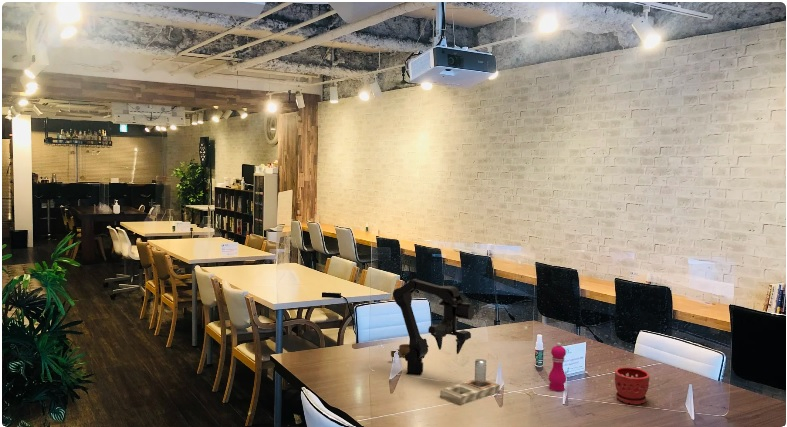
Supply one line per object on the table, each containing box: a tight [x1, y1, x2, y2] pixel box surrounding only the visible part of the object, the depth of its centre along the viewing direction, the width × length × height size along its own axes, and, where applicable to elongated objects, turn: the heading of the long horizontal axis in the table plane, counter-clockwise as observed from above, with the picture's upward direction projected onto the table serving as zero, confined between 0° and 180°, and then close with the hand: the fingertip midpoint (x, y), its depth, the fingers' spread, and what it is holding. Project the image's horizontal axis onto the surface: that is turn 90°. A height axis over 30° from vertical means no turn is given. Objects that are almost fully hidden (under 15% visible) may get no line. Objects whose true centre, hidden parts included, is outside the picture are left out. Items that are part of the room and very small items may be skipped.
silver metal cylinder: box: [474, 358, 487, 387], centre depth 262 cm, size 5×5×13 cm
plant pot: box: [614, 366, 650, 405], centre depth 256 cm, size 13×13×12 cm
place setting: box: [390, 343, 410, 362], centre depth 308 cm, size 18×20×6 cm
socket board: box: [439, 378, 501, 406], centre depth 258 cm, size 24×11×3 cm, turn 131°
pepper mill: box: [548, 342, 567, 392], centre depth 267 cm, size 7×7×20 cm
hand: (448, 351), depth 273 cm, fingers open, 9 cm apart
